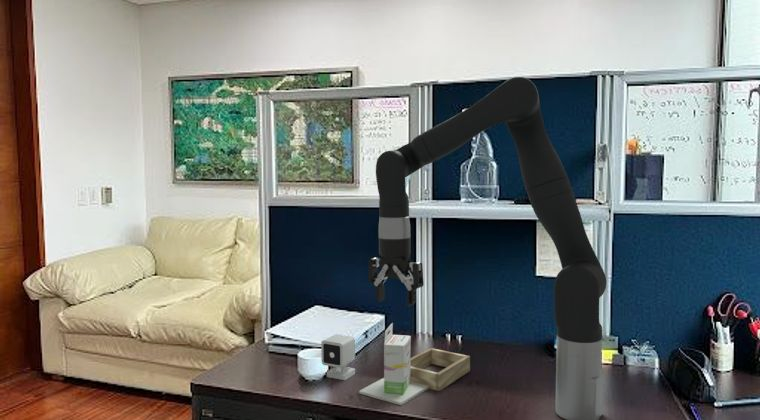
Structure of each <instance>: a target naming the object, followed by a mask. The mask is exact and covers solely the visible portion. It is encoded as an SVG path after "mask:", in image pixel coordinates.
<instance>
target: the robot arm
mask: <svg viewBox="0 0 760 420" xmlns="http://www.w3.org/2000/svg"><path fill="white" fill-rule="evenodd" d="M540 105H541V104H540V97H539V91H538V89H537V87H536V85H535V83H534V82H532V80H530V79H529V78H527V77H524V76H514V77H511V78H508V79H507V80H505V81H503V82H502V83H501V84H500V85H499V86H497V87H496V88H494V89H493V90H491V92H489V93H488V94H486V95H485V96H484V97H483V98H481V99H479V100H478V101H476V102H475V103H474V104H473V105H471V106H469V107H467V108H466V109H464V110H462V111H461V112H459V113H457V114H456V115H455V116H452V117H450V118H449V119H447V120H445V121H442V122H441V123H439V124H437V125H435V126H433V127H432V128H430V129H428V130H426V131H424V132H422V133H421V134H418V135H417V136H416V137H414V138H413V139H412V140H411V141H410V142H409V143H407V144H404V145H402V146H400V147H398V148H396V149H394V150H387V151H386V150H385V151H384V152H382V153H381V154H380V155H379V156H378V157H377V160H376V163H375V178H376V186H377V191H378V198H379V199H378V201H379V202H378V205H379V206H378V207H379V208H378V209H379V211H378V215H379V218H378V219H379V221H378V254H379V256H380V257H371V258H369V259H368V272H367V277H368V278H367V281H368V283H370V284H372V285H374V286H375V298H376V301H377V302H379V303H381V302H384V301H385V299H386V298H385V296H386V292H385V290H386V287H385V285H384V283H386V281H387V279H392V278H393V279H395V280H400V282H401V283H402V284H404V286H405V287H406V289H407V290H406V306H407V307H412V306H414V305H415V303H416V302H417V289H420V288H422V287H424V285H425V284H424V272H423V271H424V269H423V268H424V267H423V262H422V261H416V262H412V261H411V253H412V252H411V249H412V248H411V222H410V200H409V195H408V193H407V191H406V190H407V189H406V178H407V177H409V176H410V175H412V174H413V173H415V172H416V171H418V170H419V171H420V169H422V168H423V167H425V166H427V165H429V164H432V163H434V162H436V161H438V160H441V158H445V157H446V156H447V155H449V154H451V153H452V152H455V151H457V150H458V149H460V148H461V147H462V146H464V145H466V143H467V142H469V141H471V140H472V139H473V138H474V137H476V136H478V135H480V134H481V133H483V132H484V131H486V130H488V129H490V128H492V127H494V126H496V125H499V124H502V123H505V125H506V128H507V130H508V131H509V133H510V136H511V138H512V140H513V142H514V146H515V149H516V151H517V157H518V163H519V166H520V167H519V168H520V171H521V178H522V181H523V185H524V188H525V191H526V193H527V197H528V200H529V203H530V205H531V208H532V210H533V211H534V212H533V213H535V216H536V218H537V219H538V221H539V222H540V223H541V226H542V227H543V228H544V230H545V231H546V232H547V234H548V235H549V237H550V239H551V241H552V242H553V244H554V246H555V249H556V252H557V255H558V258H559V261H560V265H561V269H560V271H559V272H558V273H557V274H556V276H555V280H554V286H553V311H554V312H553V314H554V323H555V326H556V356H555V358H556V359H555V360H556V363H555V364H556V365H555V366H556V367H555V368H556V370H555V402H554V403H555V414H556V415H557V416H559V417H560V418H562V419H564V420H600V418H601V417H602V415H603V414H604V391H605V390H604V385H605V384H604V383H605V371H603V370H602V358H603V356H602V354H603V353H602V352H603V349H602V348H603V327H602V324H601V323H600V298H601V297H602V296H603V294H605V291H606V289H607V277H606V274H605V271H604V269H603V267H602V265H601V263H600V261H599V259H598V256H597V255H596V252H595V251H594V249H593V247H592V244H591V243H590V239H589V238H588V235H587V231H586V229H585V226H584V222H583V219H582V215H581V212H580V209H579V205H578V204H577V201H576V197H575V194H574V191H573V187H572V186H571V185H572V184H571V183H570V179H569V177H568V174H567V172H566V170H565V167H564V166H563V163H562V161H561V159H560V156H559V154H558V153H557V151H556V149H555V147H554V146H553V144H552V142H551V140H550V138H549V136H548V134H547V130H546V126H545V123H544V119H543V116H542V110H541V106H540ZM379 267H380V268H381V270H380V271H379ZM411 272H412V273H411Z"/></svg>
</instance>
